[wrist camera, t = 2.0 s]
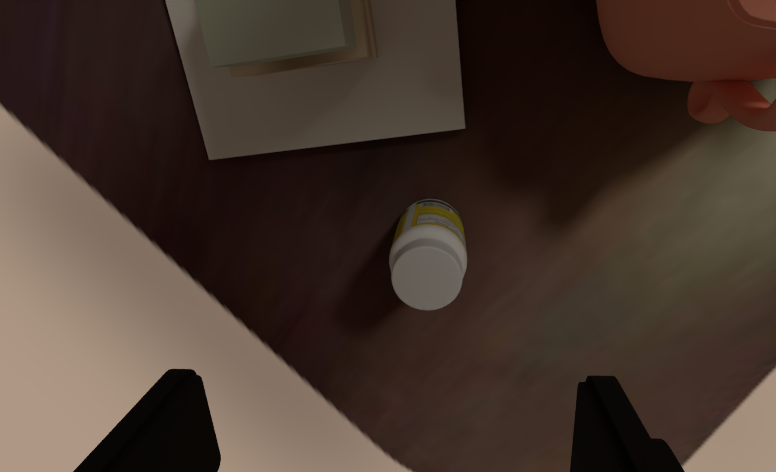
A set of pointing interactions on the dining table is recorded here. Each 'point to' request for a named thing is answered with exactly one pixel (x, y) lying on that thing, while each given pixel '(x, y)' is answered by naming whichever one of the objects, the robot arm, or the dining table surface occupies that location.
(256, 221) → the dining table surface
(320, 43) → the sage block
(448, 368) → the dining table surface
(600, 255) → the dining table surface
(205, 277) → the dining table surface
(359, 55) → the birch block
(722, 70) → the teapot
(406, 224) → the supplement bottle
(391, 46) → the base plate
